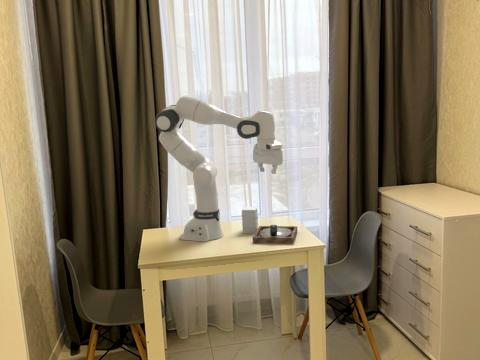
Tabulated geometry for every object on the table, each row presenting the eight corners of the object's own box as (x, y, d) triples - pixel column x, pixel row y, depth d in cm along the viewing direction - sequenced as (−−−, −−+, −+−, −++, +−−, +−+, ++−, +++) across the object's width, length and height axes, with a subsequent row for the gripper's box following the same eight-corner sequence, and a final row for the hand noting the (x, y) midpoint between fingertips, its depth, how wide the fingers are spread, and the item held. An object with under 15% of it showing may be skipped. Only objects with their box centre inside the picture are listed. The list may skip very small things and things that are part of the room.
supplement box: (256, 233, 258) (255, 210, 255) (242, 233, 259) (241, 210, 257) (258, 229, 265) (257, 206, 263) (245, 229, 266) (243, 206, 264)
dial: (262, 230, 258) (262, 218, 257) (293, 230, 255) (292, 218, 254) (257, 239, 243) (256, 226, 242) (289, 240, 240) (289, 226, 238)
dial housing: (252, 243, 242) (252, 236, 241) (259, 231, 261) (259, 225, 260) (293, 243, 238) (293, 237, 237) (297, 231, 257) (297, 225, 256)
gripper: (249, 144, 245) (250, 171, 247) (273, 146, 228) (275, 175, 230) (259, 142, 248) (260, 169, 250) (284, 145, 231) (285, 174, 233)
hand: (267, 172), depth 240 cm, fingers open, 8 cm apart
